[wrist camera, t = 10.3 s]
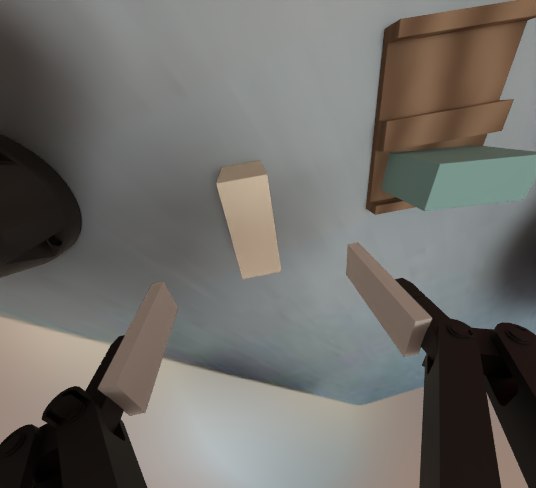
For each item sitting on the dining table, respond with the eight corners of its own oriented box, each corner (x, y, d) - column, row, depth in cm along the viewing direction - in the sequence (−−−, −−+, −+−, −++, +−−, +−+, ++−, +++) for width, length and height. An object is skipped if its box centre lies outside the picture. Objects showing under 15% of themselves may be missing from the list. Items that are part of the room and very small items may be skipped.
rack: (366, 208, 30) (375, 214, 28) (384, 28, 20) (400, 19, 18) (461, 190, 30) (476, 195, 28) (523, 6, 20) (554, -6, 19)
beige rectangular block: (272, 239, 31) (281, 271, 24) (241, 245, 30) (242, 279, 24) (259, 160, 25) (267, 174, 18) (222, 167, 25) (216, 183, 18)
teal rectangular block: (473, 145, 26) (550, 153, 20) (458, 181, 28) (523, 199, 22) (388, 152, 25) (440, 163, 19) (381, 189, 28) (424, 210, 21)
